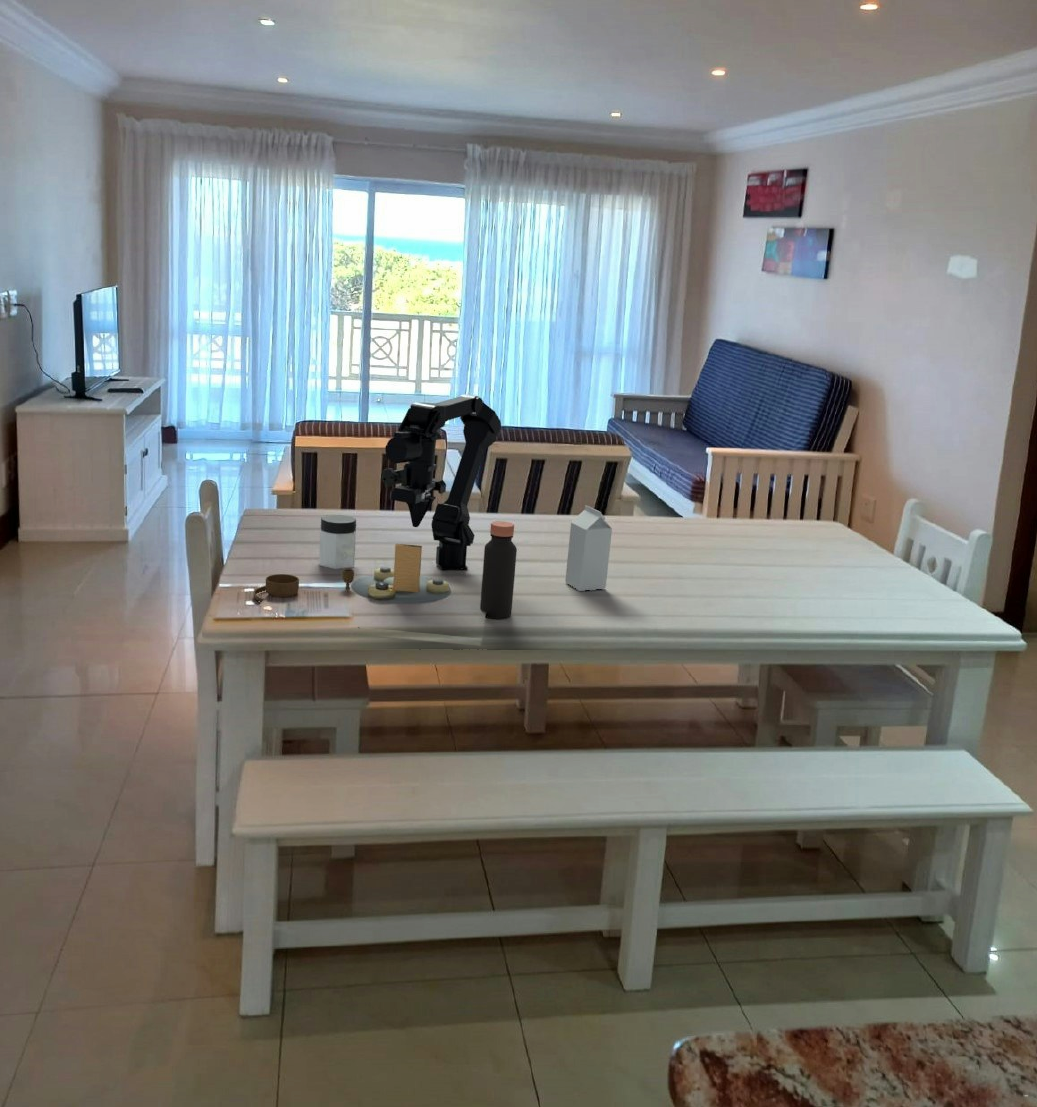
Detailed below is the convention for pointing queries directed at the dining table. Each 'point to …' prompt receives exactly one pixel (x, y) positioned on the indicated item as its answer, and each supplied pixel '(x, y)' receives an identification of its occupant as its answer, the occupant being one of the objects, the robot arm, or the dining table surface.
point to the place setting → (291, 584)
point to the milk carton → (588, 551)
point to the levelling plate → (427, 591)
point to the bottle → (498, 571)
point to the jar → (337, 541)
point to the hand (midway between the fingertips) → (415, 526)
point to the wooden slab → (401, 573)
